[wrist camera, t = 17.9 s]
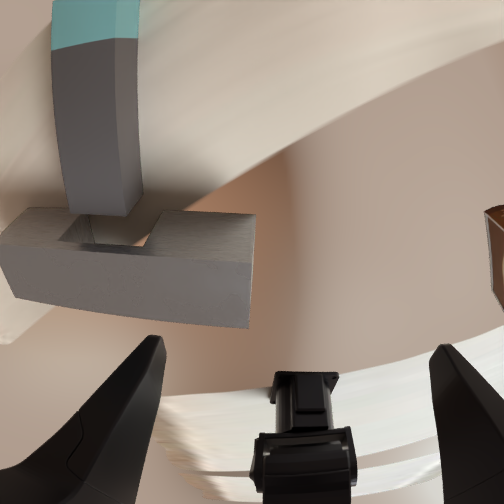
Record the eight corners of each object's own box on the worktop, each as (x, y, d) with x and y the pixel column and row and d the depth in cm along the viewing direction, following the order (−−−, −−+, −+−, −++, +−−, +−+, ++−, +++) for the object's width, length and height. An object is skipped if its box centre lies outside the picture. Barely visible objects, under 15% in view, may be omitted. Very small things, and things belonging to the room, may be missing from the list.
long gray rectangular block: (252, 276, 23) (248, 328, 19) (44, 258, 23) (15, 297, 19) (255, 214, 20) (252, 262, 16) (27, 207, 20) (-9, 243, 16)
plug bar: (143, 193, 20) (126, 216, 17) (91, 192, 20) (70, 213, 17) (140, -9, 12) (118, -17, 10) (81, 3, 12) (52, 1, 10)
